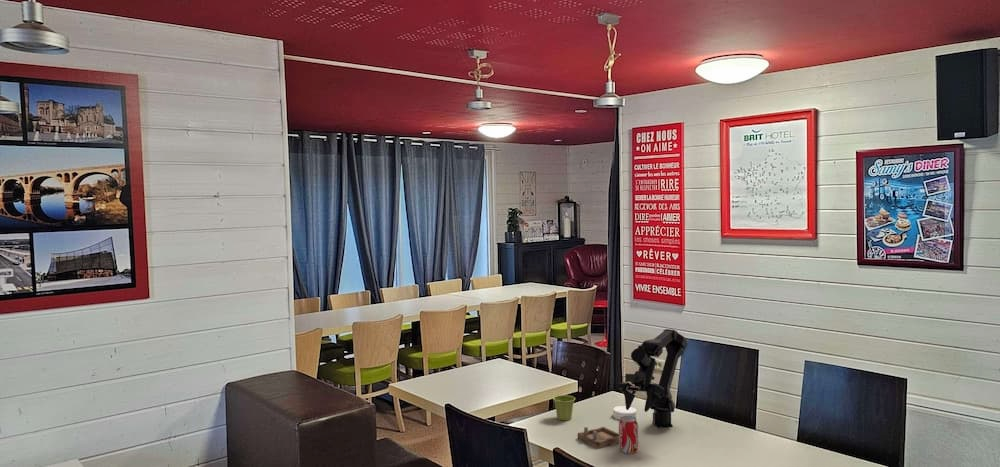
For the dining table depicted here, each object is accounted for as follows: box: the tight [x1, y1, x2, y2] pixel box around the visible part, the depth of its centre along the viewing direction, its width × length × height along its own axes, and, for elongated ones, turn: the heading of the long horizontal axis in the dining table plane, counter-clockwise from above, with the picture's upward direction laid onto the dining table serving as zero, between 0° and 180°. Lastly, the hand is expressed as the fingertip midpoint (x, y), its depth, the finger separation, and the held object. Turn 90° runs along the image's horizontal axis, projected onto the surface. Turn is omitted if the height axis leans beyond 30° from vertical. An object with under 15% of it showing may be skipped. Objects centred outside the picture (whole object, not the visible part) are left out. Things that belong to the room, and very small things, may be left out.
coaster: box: [612, 405, 638, 421], centre depth 271 cm, size 10×10×4 cm
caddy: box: [577, 426, 619, 449], centre depth 244 cm, size 13×12×5 cm
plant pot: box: [552, 394, 576, 421], centre depth 270 cm, size 9×9×9 cm
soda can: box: [618, 416, 639, 454], centre depth 233 cm, size 7×7×12 cm
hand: (636, 410), depth 241 cm, fingers open, 9 cm apart
